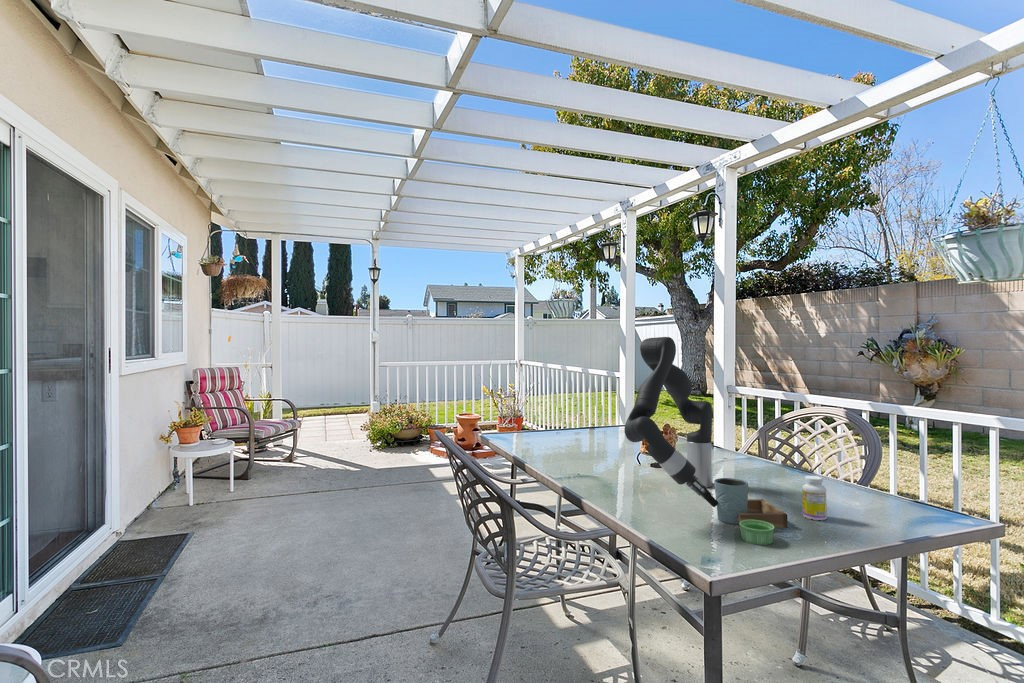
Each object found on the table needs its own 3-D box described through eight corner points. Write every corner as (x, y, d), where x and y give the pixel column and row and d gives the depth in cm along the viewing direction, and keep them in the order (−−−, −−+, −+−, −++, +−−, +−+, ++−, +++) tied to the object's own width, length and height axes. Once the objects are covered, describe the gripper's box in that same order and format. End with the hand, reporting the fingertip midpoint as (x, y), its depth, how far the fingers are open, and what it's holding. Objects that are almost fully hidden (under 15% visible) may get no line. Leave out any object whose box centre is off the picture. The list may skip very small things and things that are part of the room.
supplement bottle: (806, 512, 167) (805, 473, 167) (829, 517, 162) (828, 477, 162) (799, 517, 162) (799, 477, 162) (823, 522, 157) (822, 481, 158)
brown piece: (719, 511, 169) (719, 499, 169) (762, 511, 169) (762, 499, 169) (740, 528, 154) (740, 514, 154) (787, 527, 154) (787, 514, 154)
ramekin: (749, 532, 151) (749, 517, 151) (780, 541, 143) (780, 525, 143) (733, 539, 145) (733, 523, 145) (764, 548, 138) (764, 532, 138)
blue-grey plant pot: (730, 526, 155) (729, 487, 155) (707, 516, 164) (706, 479, 165) (756, 522, 158) (755, 483, 158) (732, 512, 168) (731, 476, 168)
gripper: (692, 462, 155) (732, 502, 155) (678, 453, 168) (715, 490, 168) (674, 479, 155) (715, 520, 155) (662, 469, 168) (699, 506, 168)
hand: (715, 504), depth 161 cm, fingers closed
